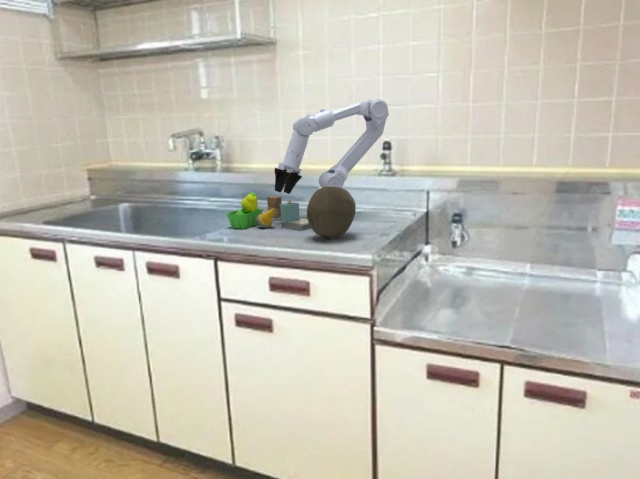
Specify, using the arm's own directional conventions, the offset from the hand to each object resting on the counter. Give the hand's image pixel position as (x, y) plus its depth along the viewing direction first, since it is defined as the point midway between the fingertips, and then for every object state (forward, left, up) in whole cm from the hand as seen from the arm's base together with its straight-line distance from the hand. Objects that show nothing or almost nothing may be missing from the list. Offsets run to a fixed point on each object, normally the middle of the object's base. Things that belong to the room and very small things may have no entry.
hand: (282, 192), depth 179 cm
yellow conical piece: (+8, 0, -11) cm, 13 cm away
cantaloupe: (+8, +28, -11) cm, 31 cm away
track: (-2, -8, -10) cm, 13 cm away
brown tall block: (-3, -8, -9) cm, 12 cm away
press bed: (+1, +9, -10) cm, 14 cm away
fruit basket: (+10, -8, -11) cm, 16 cm away
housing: (-4, -1, -11) cm, 11 cm away
